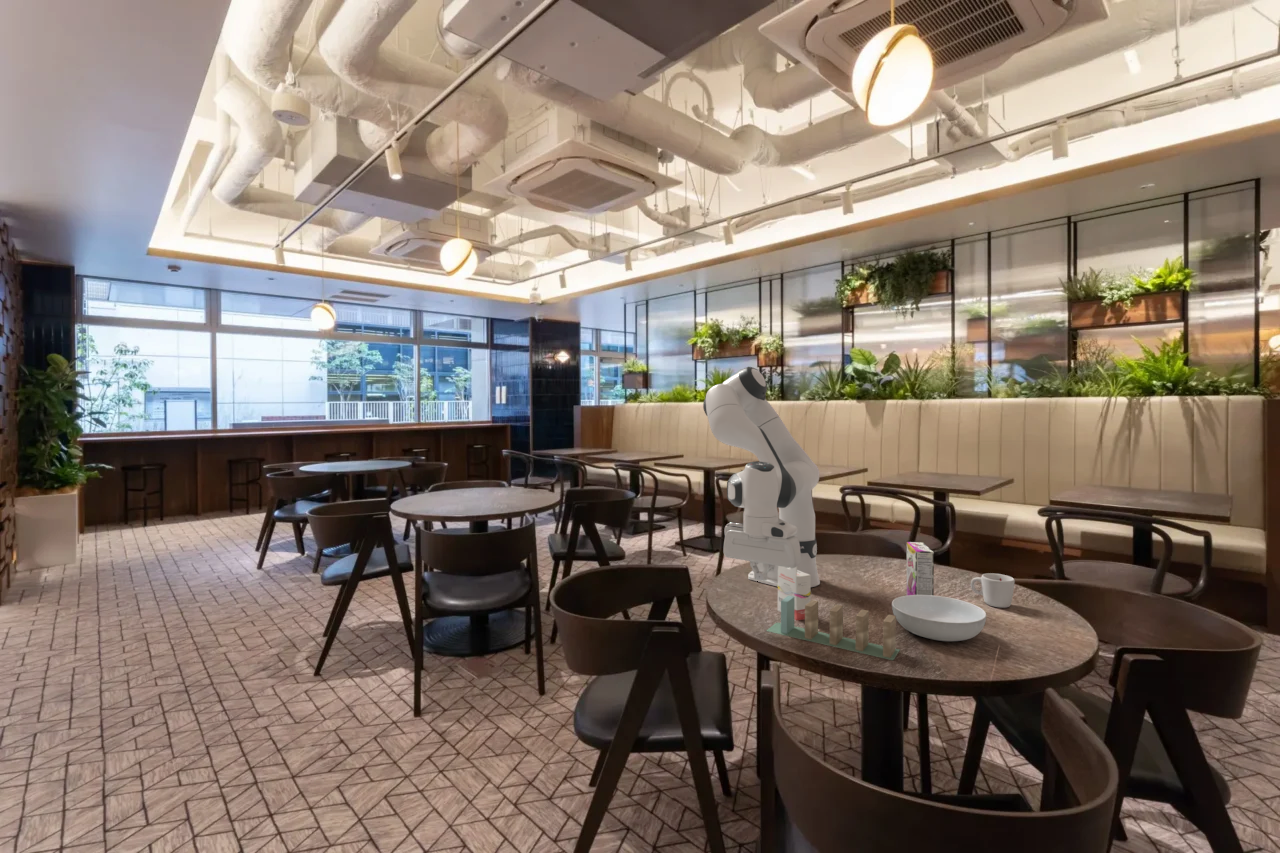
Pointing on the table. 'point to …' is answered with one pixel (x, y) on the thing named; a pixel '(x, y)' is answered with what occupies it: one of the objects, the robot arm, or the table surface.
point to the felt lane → (843, 644)
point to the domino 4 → (862, 630)
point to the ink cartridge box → (794, 589)
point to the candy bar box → (920, 569)
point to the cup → (995, 589)
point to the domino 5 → (889, 635)
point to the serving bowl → (939, 617)
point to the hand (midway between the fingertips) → (760, 579)
